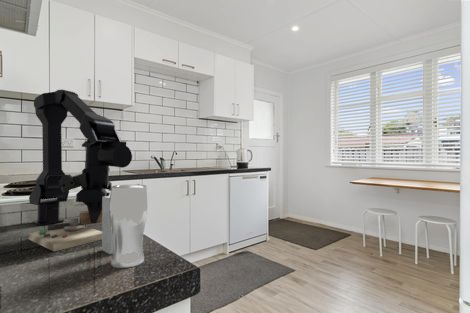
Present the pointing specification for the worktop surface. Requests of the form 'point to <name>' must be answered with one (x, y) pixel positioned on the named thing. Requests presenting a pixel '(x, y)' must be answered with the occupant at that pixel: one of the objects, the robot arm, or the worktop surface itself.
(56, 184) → the robot arm
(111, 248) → the skincare box
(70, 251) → the worktop surface
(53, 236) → the dial board
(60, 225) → the gauge needle
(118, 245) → the beer glass
